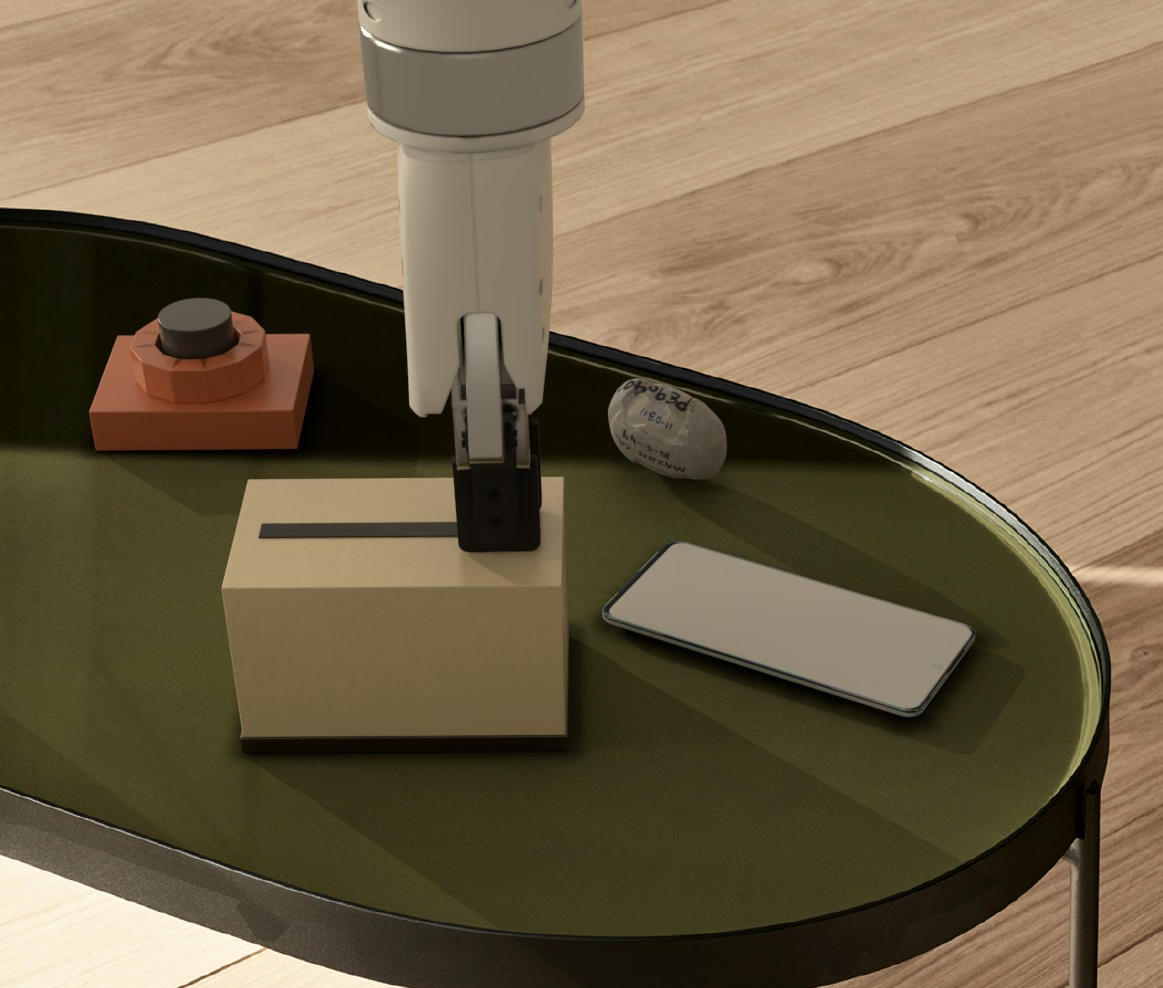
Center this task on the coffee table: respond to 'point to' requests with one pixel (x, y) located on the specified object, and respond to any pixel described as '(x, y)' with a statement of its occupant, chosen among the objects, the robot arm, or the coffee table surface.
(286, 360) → the timer box
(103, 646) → the coffee table surface
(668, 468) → the fossil
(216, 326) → the timer button
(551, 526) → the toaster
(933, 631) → the smartphone
